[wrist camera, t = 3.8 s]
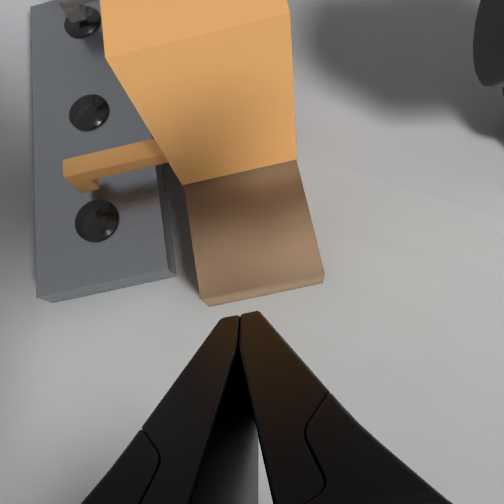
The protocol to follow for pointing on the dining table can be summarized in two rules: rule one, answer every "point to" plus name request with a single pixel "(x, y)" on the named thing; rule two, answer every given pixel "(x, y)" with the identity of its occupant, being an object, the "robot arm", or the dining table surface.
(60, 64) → the bolt hole plate
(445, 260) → the dining table surface
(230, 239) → the rail
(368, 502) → the robot arm
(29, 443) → the dining table surface
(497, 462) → the dining table surface
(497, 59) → the pneumatic valve
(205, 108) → the block
